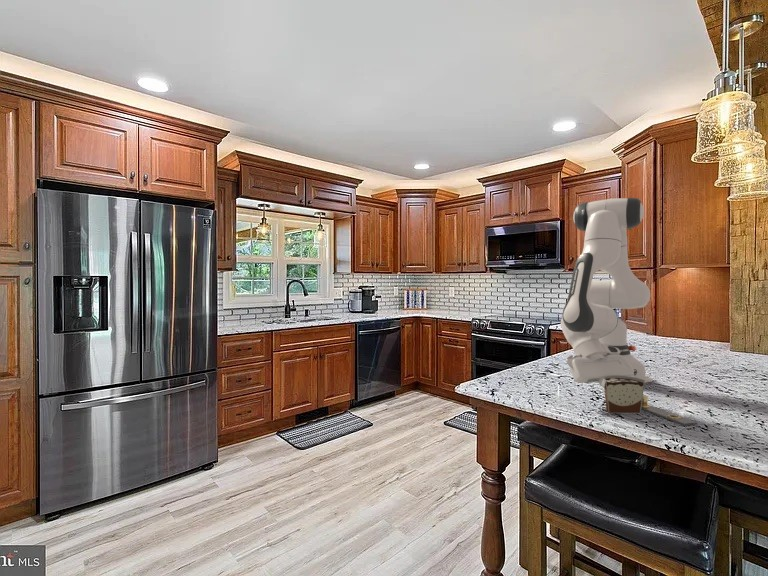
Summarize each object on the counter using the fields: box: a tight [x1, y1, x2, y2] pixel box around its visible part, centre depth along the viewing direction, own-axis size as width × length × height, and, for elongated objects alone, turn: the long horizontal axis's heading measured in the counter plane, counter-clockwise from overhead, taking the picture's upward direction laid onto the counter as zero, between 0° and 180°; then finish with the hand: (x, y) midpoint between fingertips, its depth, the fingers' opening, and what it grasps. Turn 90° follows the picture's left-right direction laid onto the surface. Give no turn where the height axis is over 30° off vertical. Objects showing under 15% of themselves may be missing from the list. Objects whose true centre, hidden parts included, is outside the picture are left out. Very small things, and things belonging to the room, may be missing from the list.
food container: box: [601, 375, 647, 414], centre depth 122 cm, size 12×6×10 cm, turn 89°
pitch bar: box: [641, 394, 698, 427], centre depth 119 cm, size 4×20×4 cm, turn 13°
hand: (614, 392), depth 124 cm, fingers closed
